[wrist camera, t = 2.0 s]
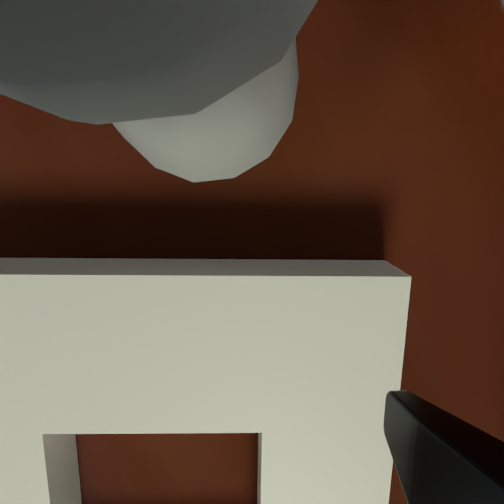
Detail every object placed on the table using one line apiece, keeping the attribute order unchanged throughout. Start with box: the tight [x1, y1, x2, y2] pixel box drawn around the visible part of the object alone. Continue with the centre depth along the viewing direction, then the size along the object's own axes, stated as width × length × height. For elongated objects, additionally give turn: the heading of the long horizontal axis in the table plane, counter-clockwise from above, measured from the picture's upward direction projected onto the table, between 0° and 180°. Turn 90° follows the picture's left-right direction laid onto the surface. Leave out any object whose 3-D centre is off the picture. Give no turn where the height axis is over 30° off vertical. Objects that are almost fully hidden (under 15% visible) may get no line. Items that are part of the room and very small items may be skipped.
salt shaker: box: [0, 0, 318, 182], centre depth 8 cm, size 6×6×13 cm
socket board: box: [0, 258, 411, 504], centre depth 16 cm, size 18×20×2 cm
